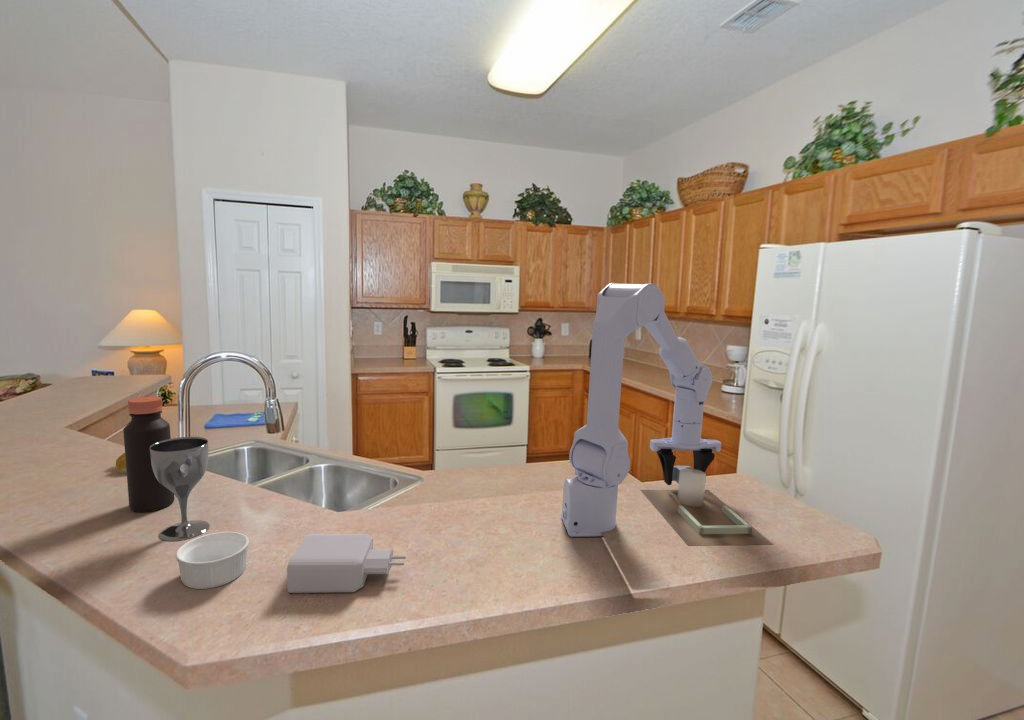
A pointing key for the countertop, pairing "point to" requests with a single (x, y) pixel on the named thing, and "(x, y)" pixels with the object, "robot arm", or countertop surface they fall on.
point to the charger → (336, 563)
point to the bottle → (145, 454)
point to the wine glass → (180, 479)
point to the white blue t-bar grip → (689, 485)
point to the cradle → (740, 528)
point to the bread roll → (121, 464)
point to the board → (701, 520)
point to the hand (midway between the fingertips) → (682, 483)
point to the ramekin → (212, 559)
